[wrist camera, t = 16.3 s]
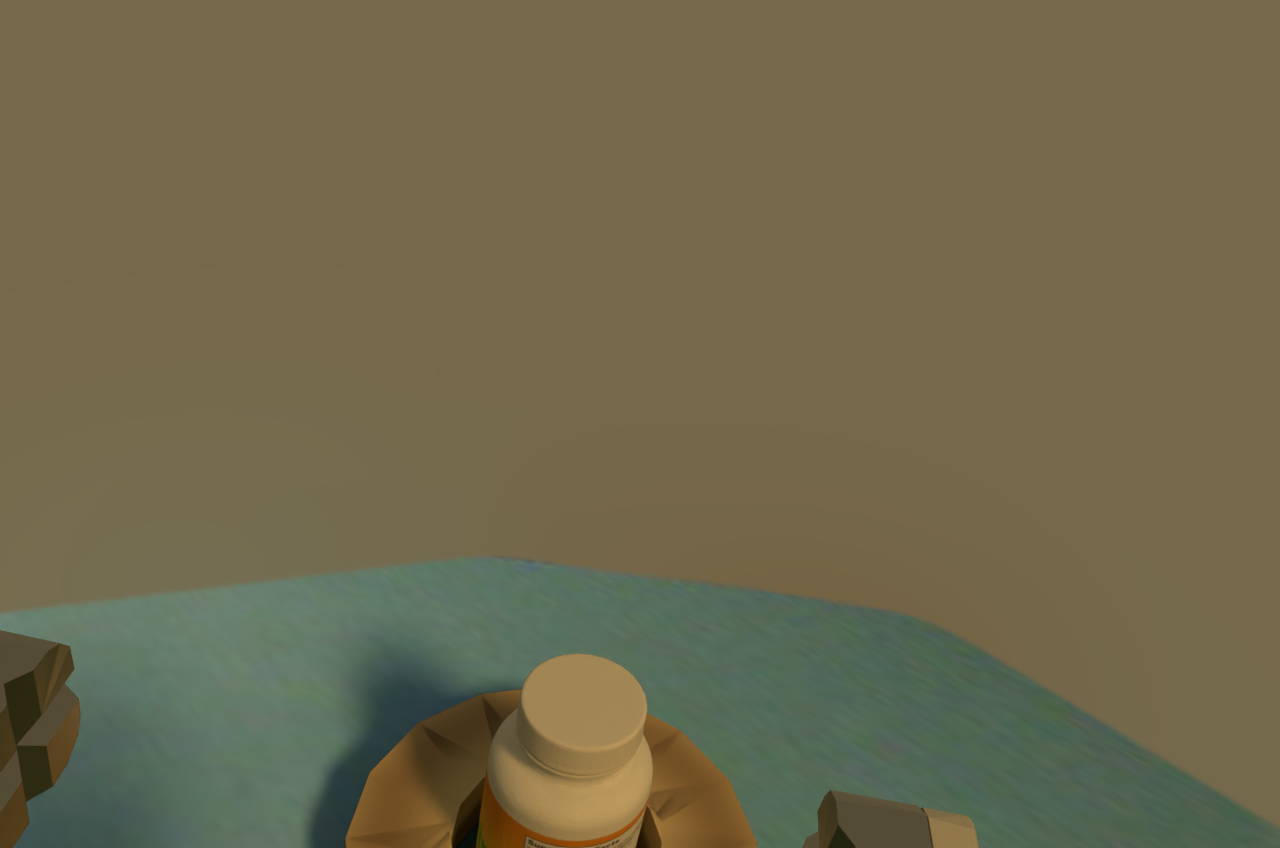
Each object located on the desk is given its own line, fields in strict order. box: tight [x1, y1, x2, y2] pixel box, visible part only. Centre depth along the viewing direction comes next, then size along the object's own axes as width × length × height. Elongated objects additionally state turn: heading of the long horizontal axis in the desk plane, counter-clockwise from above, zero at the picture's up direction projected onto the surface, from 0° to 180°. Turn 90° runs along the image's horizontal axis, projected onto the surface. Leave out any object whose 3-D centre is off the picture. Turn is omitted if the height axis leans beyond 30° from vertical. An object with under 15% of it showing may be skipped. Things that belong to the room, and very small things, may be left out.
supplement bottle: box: [476, 654, 653, 848], centre depth 37 cm, size 5×5×10 cm
